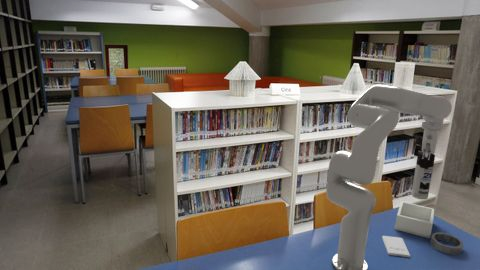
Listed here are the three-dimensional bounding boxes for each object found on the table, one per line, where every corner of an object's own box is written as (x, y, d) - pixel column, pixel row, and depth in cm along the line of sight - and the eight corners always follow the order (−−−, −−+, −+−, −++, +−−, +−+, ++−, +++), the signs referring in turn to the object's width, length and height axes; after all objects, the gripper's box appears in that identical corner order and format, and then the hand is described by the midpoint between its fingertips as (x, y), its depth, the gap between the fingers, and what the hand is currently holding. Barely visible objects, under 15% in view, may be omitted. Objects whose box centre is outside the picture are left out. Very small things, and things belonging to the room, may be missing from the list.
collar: (461, 257, 138) (463, 251, 137) (429, 248, 143) (431, 242, 143) (461, 244, 147) (462, 237, 147) (431, 236, 153) (432, 229, 152)
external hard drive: (401, 241, 150) (410, 258, 138) (381, 238, 151) (387, 255, 139) (402, 237, 149) (410, 255, 137) (382, 235, 150) (388, 252, 139)
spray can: (417, 200, 153) (425, 156, 147) (407, 193, 159) (414, 151, 154) (431, 199, 154) (439, 155, 149) (420, 192, 160) (428, 150, 155)
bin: (429, 238, 151) (432, 224, 149) (394, 229, 157) (396, 215, 156) (431, 222, 164) (434, 208, 162) (399, 214, 171) (401, 201, 169)
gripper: (441, 131, 139) (433, 173, 144) (442, 122, 153) (435, 161, 158) (420, 128, 142) (413, 169, 147) (423, 120, 157) (416, 158, 162)
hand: (424, 165), depth 152 cm, fingers closed on spray can, 6 cm apart
